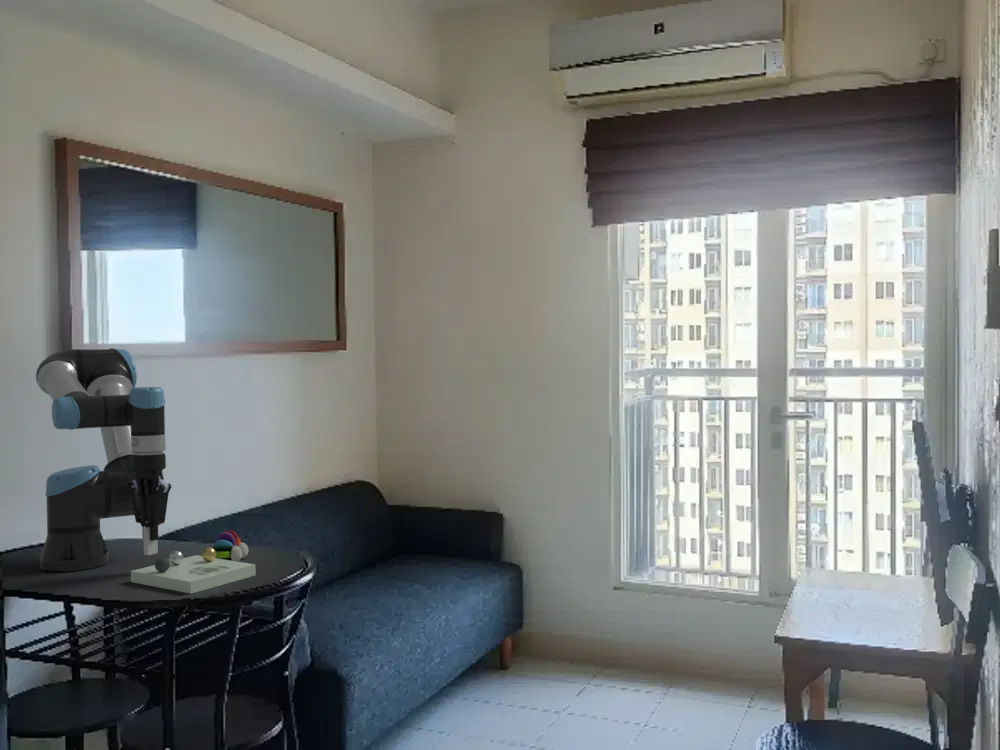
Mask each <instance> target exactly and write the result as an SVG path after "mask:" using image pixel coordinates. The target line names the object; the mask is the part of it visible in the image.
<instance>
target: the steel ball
mask: <svg viewBox="0 0 1000 750" xmlns="http://www.w3.org/2000/svg"><path fill="white" fill-rule="evenodd" d="M183 558H185V557H184V554H183V553H182V551H180V550H173V551H171V552H170V554H169V555H168V560H169V561H170V563H171V564H173V565H178V564H180V563H181V562H182V561H183Z"/></svg>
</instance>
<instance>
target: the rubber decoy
mask: <svg viewBox="0 0 1000 750" xmlns="http://www.w3.org/2000/svg"><path fill="white" fill-rule="evenodd" d="M154 565H155V568H156V570H157V571H159V572H165V571H167V570H168V569H169V567H170V561H169V558H167V557H165V556H164V557H159V558H157V559H156V561H155V562H154Z"/></svg>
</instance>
